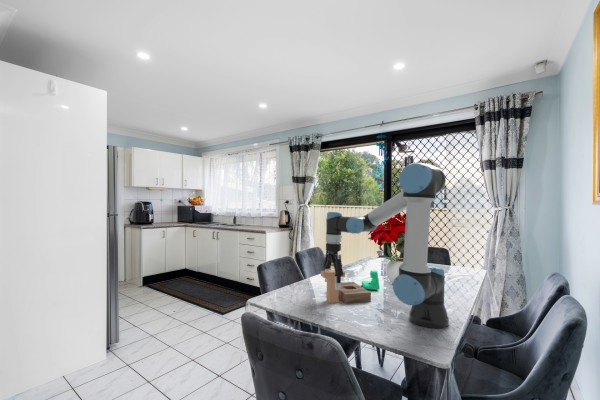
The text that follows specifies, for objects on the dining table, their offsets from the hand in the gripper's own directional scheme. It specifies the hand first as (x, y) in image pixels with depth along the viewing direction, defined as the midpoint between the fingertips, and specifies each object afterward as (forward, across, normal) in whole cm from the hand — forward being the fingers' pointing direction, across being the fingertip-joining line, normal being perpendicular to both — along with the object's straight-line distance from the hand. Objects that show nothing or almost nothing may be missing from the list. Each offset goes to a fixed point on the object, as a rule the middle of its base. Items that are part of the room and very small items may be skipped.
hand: (332, 285), depth 142 cm
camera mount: (+8, +18, -31) cm, 36 cm away
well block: (+8, +6, -12) cm, 16 cm away
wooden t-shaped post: (+8, 0, 0) cm, 8 cm away
